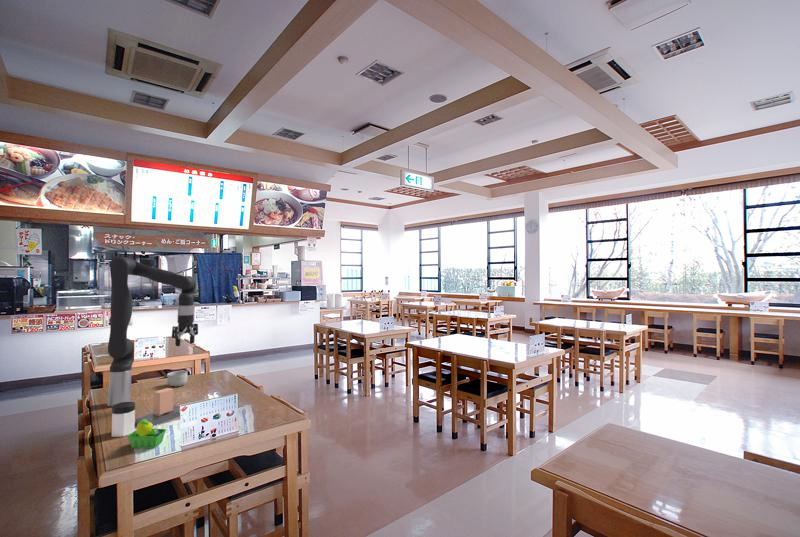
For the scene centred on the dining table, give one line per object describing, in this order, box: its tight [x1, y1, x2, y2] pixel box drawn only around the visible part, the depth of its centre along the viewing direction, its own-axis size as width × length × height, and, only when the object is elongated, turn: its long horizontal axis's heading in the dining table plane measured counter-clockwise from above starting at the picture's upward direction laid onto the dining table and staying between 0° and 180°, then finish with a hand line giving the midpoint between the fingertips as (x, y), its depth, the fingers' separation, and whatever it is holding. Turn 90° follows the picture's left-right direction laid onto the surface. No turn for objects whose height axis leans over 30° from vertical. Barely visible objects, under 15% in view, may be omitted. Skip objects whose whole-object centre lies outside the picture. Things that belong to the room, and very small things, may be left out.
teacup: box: [166, 369, 189, 387], centre depth 240 cm, size 14×11×8 cm
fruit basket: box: [127, 419, 167, 449], centre depth 157 cm, size 11×9×11 cm
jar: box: [111, 401, 136, 438], centre depth 168 cm, size 9×8×12 cm
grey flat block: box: [135, 404, 181, 427], centre depth 186 cm, size 20×9×2 cm, turn 160°
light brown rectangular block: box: [152, 387, 175, 416], centre depth 186 cm, size 7×4×13 cm, turn 160°
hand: (185, 344), depth 210 cm, fingers open, 8 cm apart
